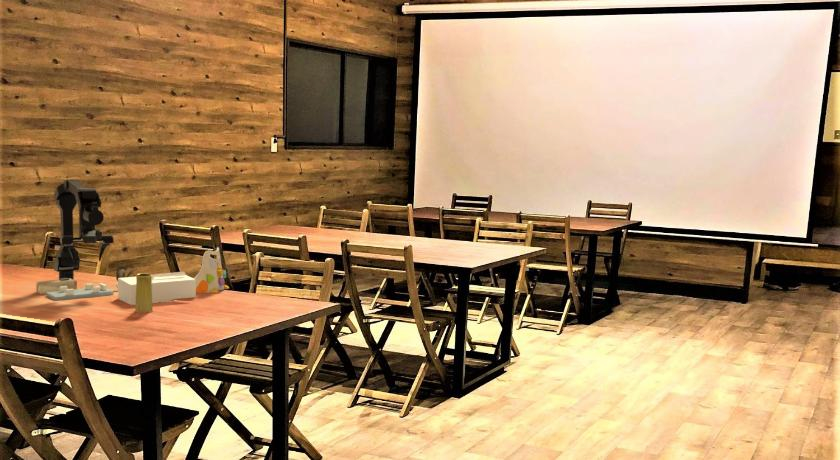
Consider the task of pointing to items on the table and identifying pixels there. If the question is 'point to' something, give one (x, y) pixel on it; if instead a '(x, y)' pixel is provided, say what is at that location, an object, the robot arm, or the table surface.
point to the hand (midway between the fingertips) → (87, 261)
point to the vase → (143, 293)
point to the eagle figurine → (122, 273)
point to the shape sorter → (210, 274)
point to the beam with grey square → (55, 285)
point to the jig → (80, 292)
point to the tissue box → (159, 287)
